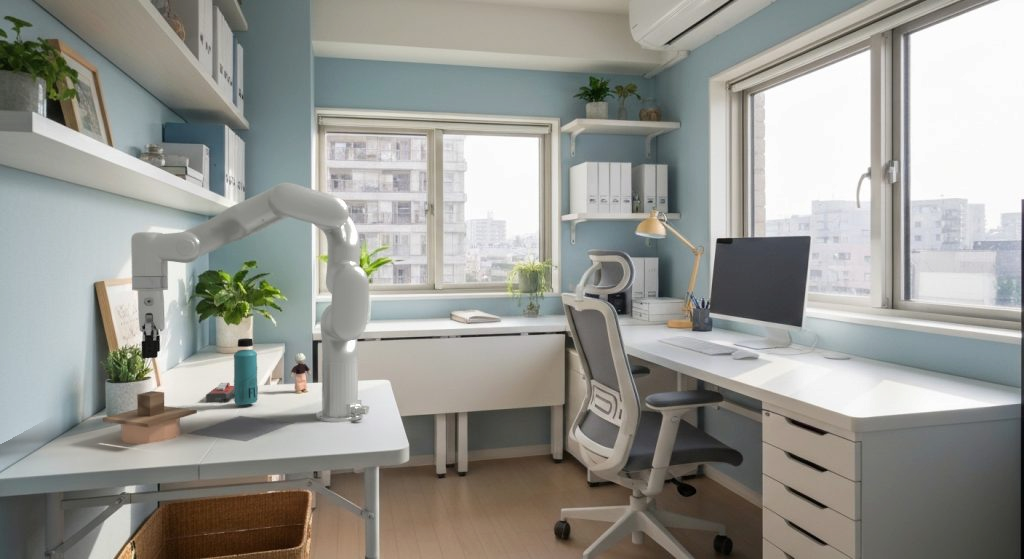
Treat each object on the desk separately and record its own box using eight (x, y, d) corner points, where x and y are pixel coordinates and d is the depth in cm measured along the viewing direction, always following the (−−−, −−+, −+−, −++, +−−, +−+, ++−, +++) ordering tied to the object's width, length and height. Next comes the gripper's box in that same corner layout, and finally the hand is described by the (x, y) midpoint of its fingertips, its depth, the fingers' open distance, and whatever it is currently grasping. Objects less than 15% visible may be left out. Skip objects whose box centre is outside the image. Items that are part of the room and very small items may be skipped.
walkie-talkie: (234, 404, 191) (250, 389, 210) (234, 389, 190) (250, 376, 210) (203, 404, 189) (222, 390, 209) (203, 390, 189) (222, 377, 209)
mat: (295, 423, 168) (295, 422, 168) (246, 442, 151) (246, 441, 151) (240, 417, 174) (240, 415, 174) (187, 434, 157) (187, 433, 157)
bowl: (190, 433, 158) (190, 413, 158) (148, 447, 147) (148, 425, 146) (153, 428, 162) (153, 409, 162) (109, 441, 150) (109, 420, 150)
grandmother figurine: (303, 389, 210) (303, 351, 210) (312, 390, 209) (312, 352, 208) (286, 393, 203) (286, 354, 203) (295, 395, 202) (295, 355, 201)
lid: (196, 413, 158) (196, 390, 158) (148, 427, 145) (147, 402, 145) (153, 408, 163) (153, 385, 163) (102, 421, 150) (102, 396, 149)
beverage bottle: (249, 410, 182) (249, 340, 181) (228, 408, 183) (228, 339, 182) (262, 405, 188) (262, 337, 187) (242, 403, 190) (242, 336, 189)
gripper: (166, 285, 147) (167, 359, 147) (169, 282, 162) (170, 348, 163) (128, 285, 143) (129, 361, 144) (135, 282, 159) (136, 350, 160)
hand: (151, 354), depth 154 cm, fingers open, 9 cm apart
